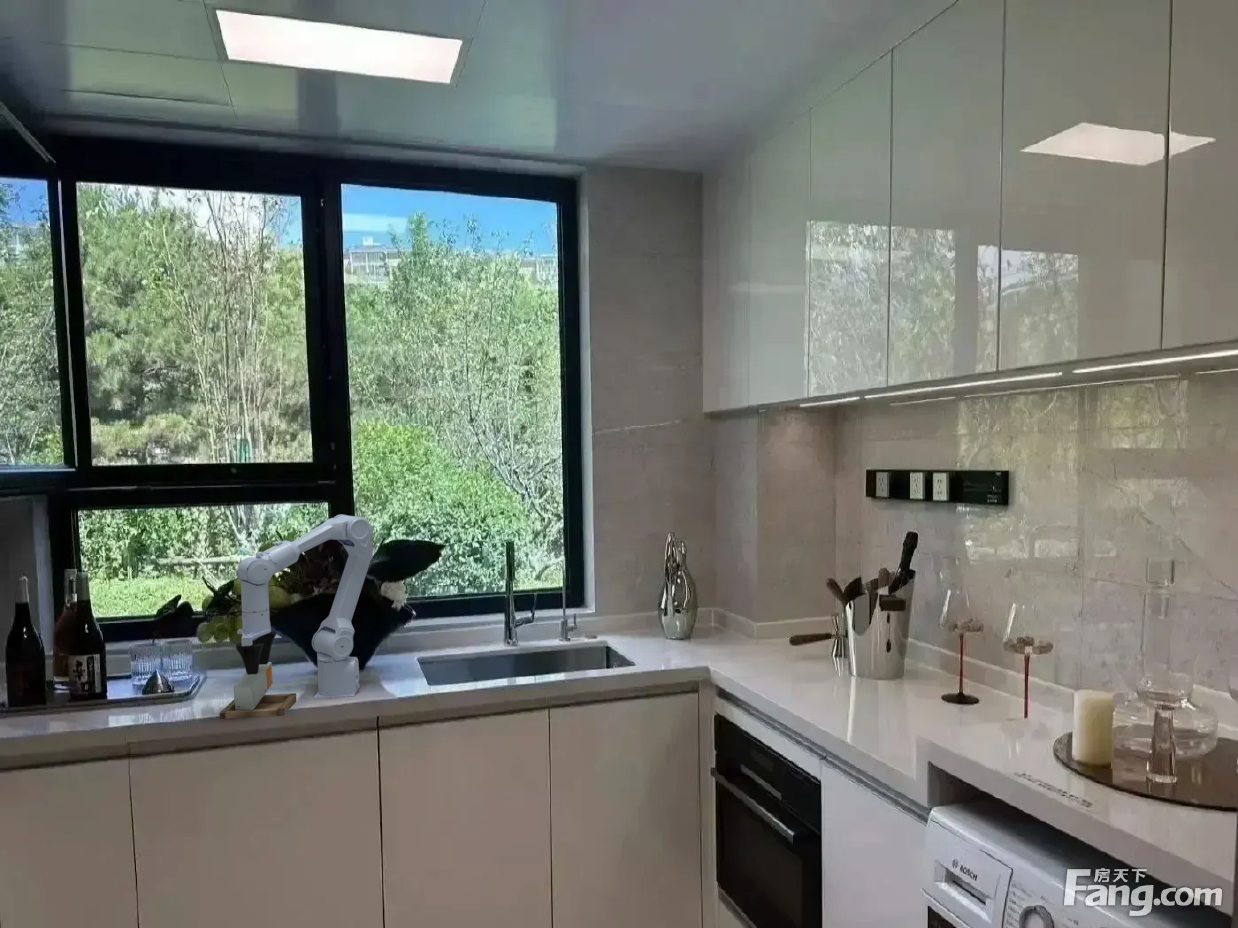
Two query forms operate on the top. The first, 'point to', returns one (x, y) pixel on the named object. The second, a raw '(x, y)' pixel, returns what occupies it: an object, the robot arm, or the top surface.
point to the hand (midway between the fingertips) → (257, 668)
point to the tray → (262, 707)
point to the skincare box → (253, 687)
